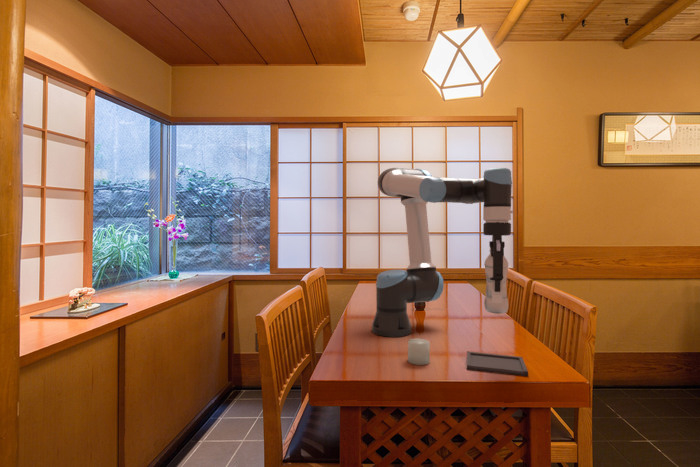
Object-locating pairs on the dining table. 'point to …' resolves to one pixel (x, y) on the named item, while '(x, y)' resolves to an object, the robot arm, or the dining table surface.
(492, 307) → the plastic bottle
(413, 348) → the white rounded cylinder
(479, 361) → the tray
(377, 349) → the dining table surface
